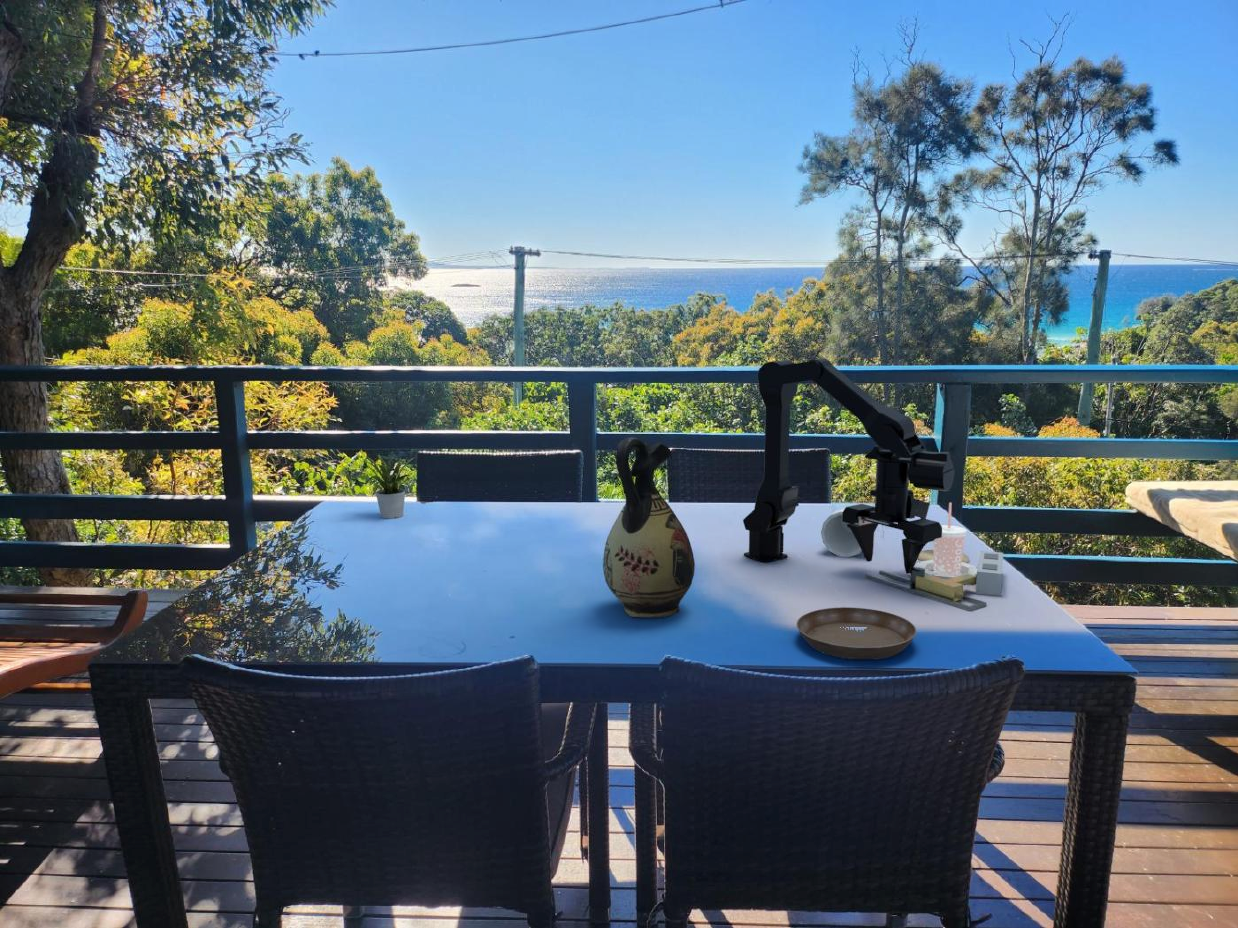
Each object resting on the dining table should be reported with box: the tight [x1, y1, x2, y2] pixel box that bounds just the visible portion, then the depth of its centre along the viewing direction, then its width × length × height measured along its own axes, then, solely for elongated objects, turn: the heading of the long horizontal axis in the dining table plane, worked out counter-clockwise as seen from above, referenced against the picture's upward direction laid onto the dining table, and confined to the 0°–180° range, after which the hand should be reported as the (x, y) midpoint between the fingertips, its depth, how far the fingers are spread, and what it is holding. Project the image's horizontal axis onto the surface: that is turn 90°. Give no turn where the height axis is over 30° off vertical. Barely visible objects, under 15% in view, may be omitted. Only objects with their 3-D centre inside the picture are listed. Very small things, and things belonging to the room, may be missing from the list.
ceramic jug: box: [602, 436, 696, 618], centre depth 151 cm, size 17×15×30 cm
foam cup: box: [820, 504, 862, 558], centre depth 188 cm, size 10×9×13 cm
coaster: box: [917, 549, 970, 564], centre depth 181 cm, size 10×10×1 cm
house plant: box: [360, 452, 417, 519], centre depth 221 cm, size 14×14×16 cm
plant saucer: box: [796, 606, 917, 660], centre depth 138 cm, size 18×18×3 cm
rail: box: [864, 569, 987, 612], centre depth 161 cm, size 4×23×1 cm, turn 33°
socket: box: [915, 550, 1004, 597], centre depth 167 cm, size 15×14×4 cm
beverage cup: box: [932, 502, 967, 575], centre depth 169 cm, size 6×6×14 cm
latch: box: [909, 566, 977, 602], centre depth 160 cm, size 8×10×3 cm
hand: (888, 567), depth 167 cm, fingers open, 9 cm apart
